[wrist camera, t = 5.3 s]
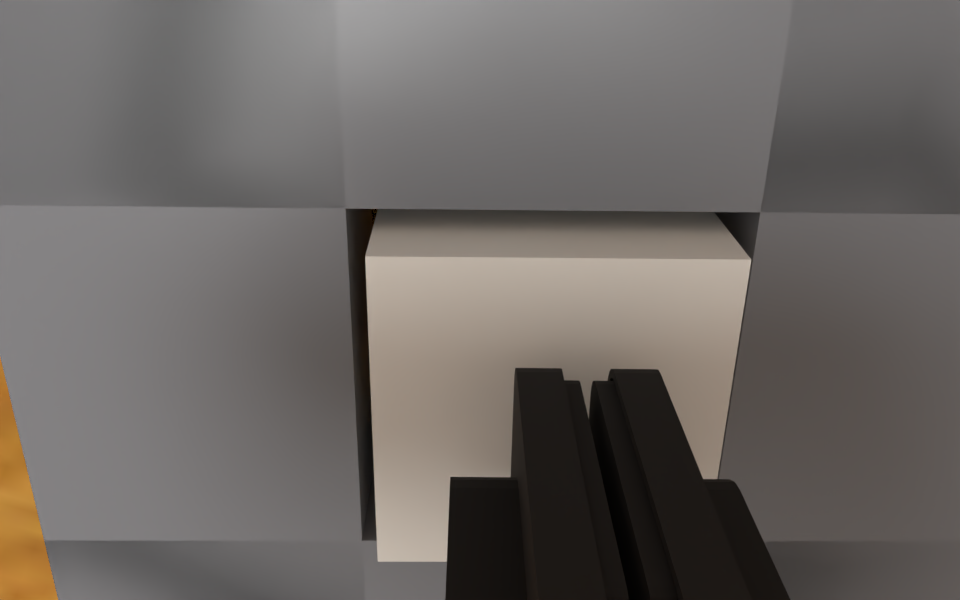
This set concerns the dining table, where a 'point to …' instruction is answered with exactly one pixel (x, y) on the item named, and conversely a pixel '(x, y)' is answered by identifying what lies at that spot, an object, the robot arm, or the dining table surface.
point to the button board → (461, 186)
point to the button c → (532, 337)
